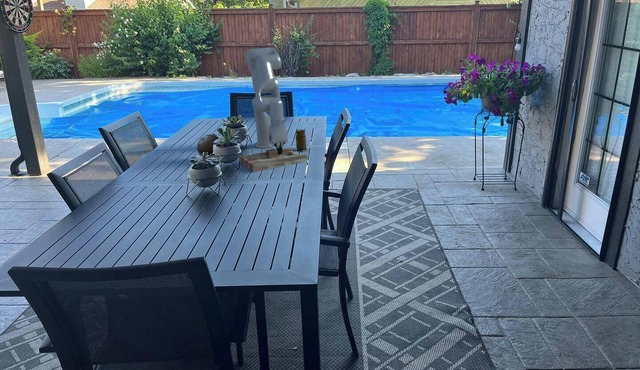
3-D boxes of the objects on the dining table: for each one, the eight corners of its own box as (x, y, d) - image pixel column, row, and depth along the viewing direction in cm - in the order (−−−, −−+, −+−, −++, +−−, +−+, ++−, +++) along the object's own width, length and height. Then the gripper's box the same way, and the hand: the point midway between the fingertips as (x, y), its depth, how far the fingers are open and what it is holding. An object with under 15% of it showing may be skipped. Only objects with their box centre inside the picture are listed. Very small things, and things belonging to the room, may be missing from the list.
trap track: (240, 163, 271) (239, 156, 270) (291, 153, 286) (291, 147, 284) (253, 172, 255) (253, 164, 253) (307, 161, 269) (307, 154, 268)
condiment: (302, 147, 298) (301, 128, 294) (311, 149, 292) (310, 130, 288) (293, 150, 294) (291, 130, 290) (301, 152, 288) (300, 132, 284)
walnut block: (266, 156, 274) (265, 150, 273) (274, 155, 276) (274, 148, 275) (270, 158, 270) (269, 152, 269) (278, 157, 272) (277, 150, 271)
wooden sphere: (193, 162, 279) (189, 137, 274) (210, 155, 291) (207, 131, 286) (213, 164, 272) (210, 138, 267) (230, 157, 284) (227, 132, 279)
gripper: (286, 119, 276) (288, 150, 282) (262, 123, 269) (265, 155, 275) (292, 121, 269) (294, 153, 275) (267, 125, 263) (270, 157, 269)
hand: (279, 154), depth 275 cm, fingers closed
